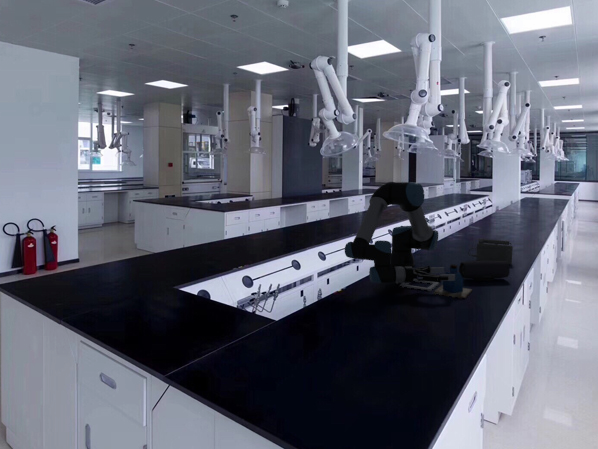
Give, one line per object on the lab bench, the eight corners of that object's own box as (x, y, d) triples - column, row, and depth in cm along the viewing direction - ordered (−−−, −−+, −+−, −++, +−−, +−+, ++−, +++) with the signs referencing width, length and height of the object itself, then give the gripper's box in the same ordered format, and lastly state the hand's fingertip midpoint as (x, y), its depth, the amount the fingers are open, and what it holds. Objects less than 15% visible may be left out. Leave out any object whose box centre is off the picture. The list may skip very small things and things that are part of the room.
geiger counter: (513, 240, 262) (469, 236, 275) (512, 241, 256) (467, 238, 270) (512, 263, 264) (468, 258, 277) (510, 265, 258) (466, 260, 272)
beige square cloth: (433, 294, 202) (433, 292, 202) (442, 287, 214) (442, 285, 214) (464, 298, 194) (464, 296, 194) (472, 291, 206) (472, 289, 206)
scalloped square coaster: (399, 286, 215) (399, 284, 215) (410, 280, 227) (410, 278, 227) (430, 291, 206) (430, 289, 206) (439, 284, 219) (439, 282, 219)
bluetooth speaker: (500, 277, 231) (501, 258, 230) (509, 281, 222) (510, 262, 221) (458, 277, 231) (458, 259, 229) (465, 282, 221) (466, 263, 220)
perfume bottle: (452, 293, 200) (453, 267, 198) (442, 289, 205) (443, 264, 204) (462, 291, 203) (463, 266, 201) (452, 288, 208) (453, 263, 206)
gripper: (396, 275, 215) (439, 275, 215) (410, 290, 190) (459, 289, 191) (397, 260, 214) (440, 260, 214) (411, 273, 189) (459, 272, 190)
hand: (449, 273), depth 203 cm, fingers open, 13 cm apart
